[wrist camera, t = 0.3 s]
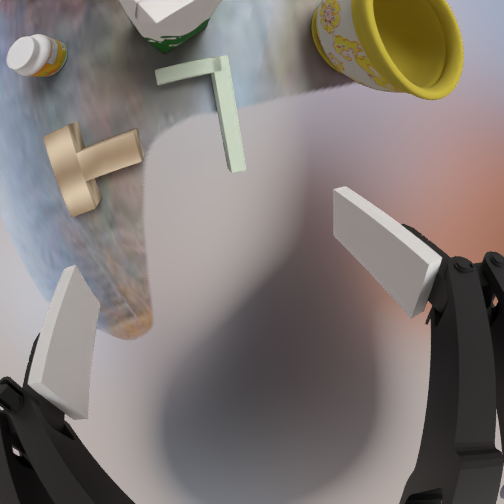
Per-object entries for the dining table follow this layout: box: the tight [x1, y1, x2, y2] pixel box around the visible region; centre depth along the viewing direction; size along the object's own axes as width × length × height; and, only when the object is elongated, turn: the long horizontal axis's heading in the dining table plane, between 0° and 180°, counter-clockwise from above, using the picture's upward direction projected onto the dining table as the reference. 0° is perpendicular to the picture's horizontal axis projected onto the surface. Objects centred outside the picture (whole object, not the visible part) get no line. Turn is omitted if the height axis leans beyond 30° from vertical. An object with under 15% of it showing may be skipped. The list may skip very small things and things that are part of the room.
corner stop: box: [155, 55, 246, 173], centre depth 32 cm, size 16×9×3 cm, turn 8°
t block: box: [43, 122, 144, 217], centre depth 30 cm, size 12×12×4 cm
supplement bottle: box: [7, 34, 67, 77], centre depth 18 cm, size 5×5×10 cm
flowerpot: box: [312, 0, 464, 100], centre depth 24 cm, size 18×18×16 cm
